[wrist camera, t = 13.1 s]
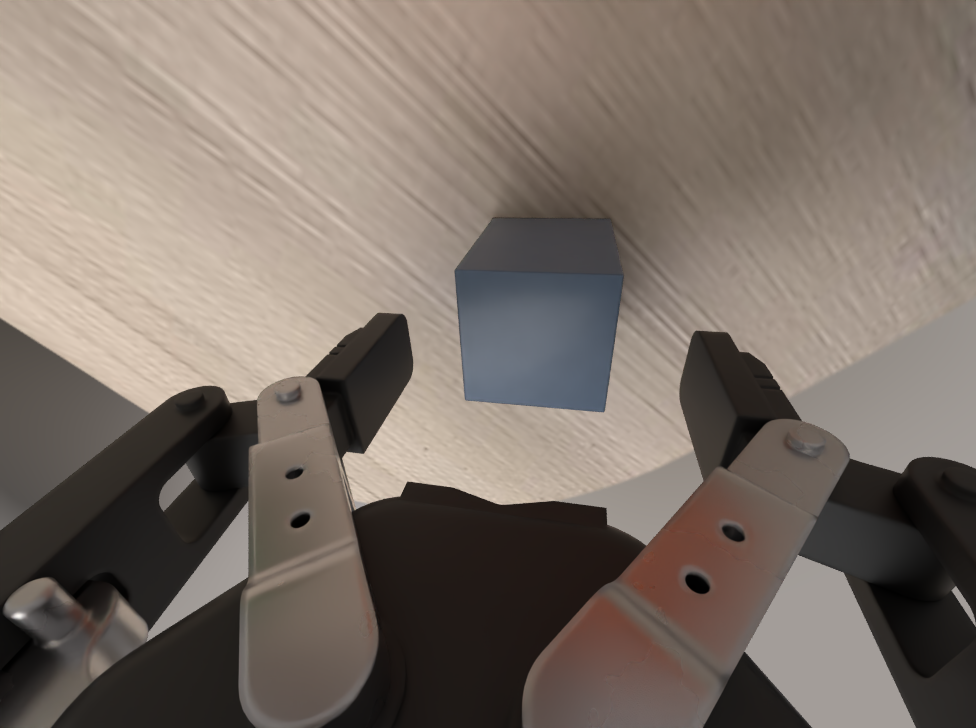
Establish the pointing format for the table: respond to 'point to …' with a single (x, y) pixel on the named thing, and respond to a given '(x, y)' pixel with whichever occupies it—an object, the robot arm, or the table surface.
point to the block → (540, 312)
